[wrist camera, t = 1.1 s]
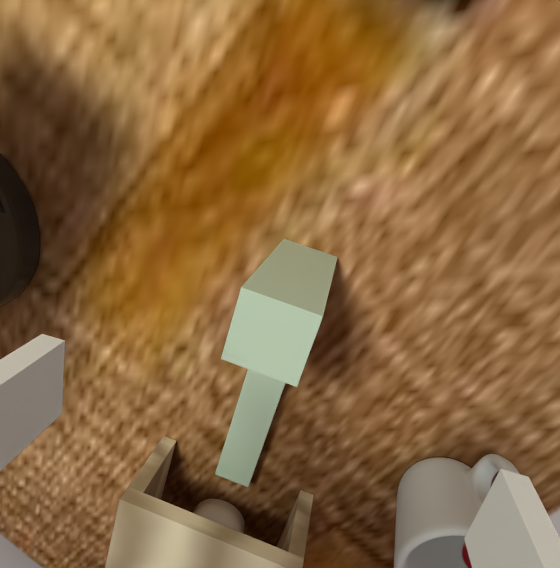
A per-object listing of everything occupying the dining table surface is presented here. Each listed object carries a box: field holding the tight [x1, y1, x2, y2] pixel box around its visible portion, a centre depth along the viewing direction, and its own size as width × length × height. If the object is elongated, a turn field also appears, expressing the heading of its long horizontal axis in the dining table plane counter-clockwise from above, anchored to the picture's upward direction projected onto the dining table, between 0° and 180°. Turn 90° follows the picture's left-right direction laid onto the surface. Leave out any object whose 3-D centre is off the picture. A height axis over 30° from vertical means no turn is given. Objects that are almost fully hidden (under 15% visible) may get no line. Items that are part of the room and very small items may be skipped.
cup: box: [394, 454, 519, 568], centre depth 29 cm, size 11×8×8 cm
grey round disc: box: [193, 499, 245, 533], centre depth 38 cm, size 5×5×2 cm
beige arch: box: [105, 436, 313, 568], centre depth 36 cm, size 14×12×7 cm
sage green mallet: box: [215, 239, 338, 487], centre depth 28 cm, size 4×21×11 cm, turn 163°
